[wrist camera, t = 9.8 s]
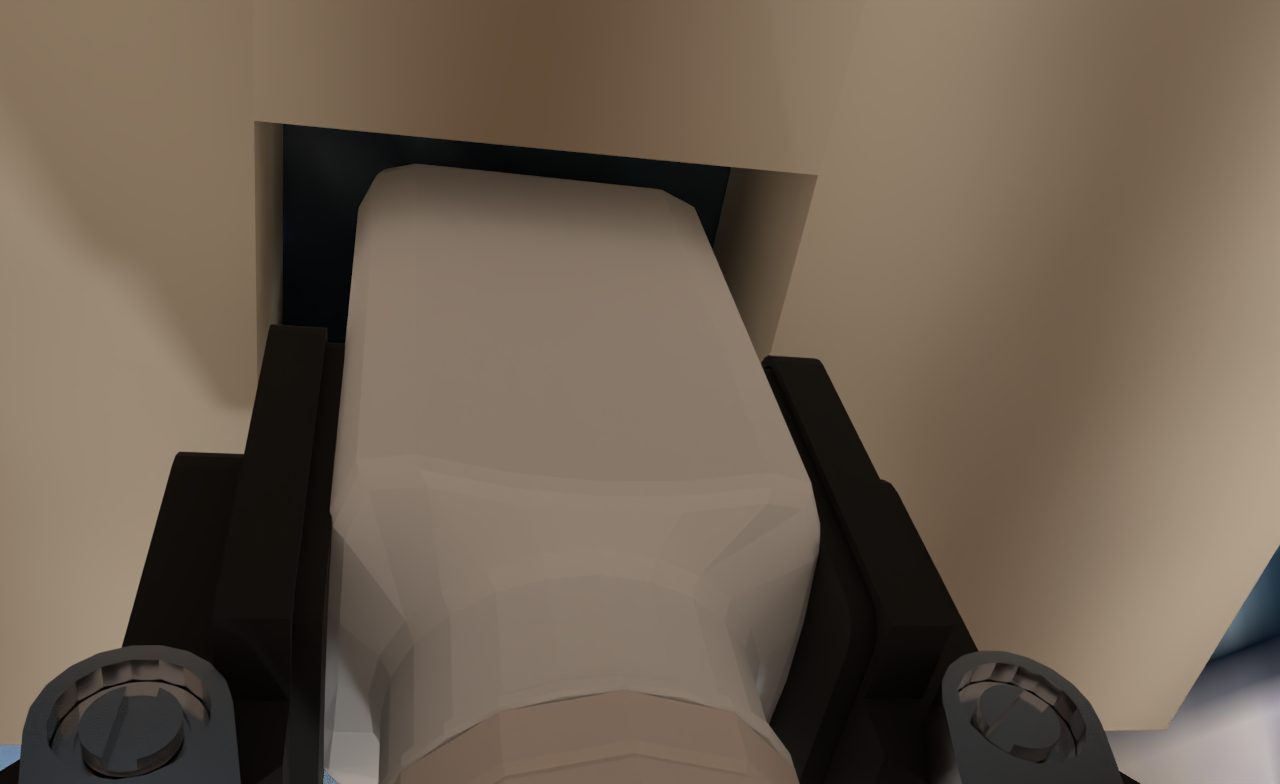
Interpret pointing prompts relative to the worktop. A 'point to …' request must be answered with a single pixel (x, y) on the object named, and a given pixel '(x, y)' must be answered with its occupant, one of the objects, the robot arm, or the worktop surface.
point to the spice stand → (746, 253)
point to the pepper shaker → (555, 496)
